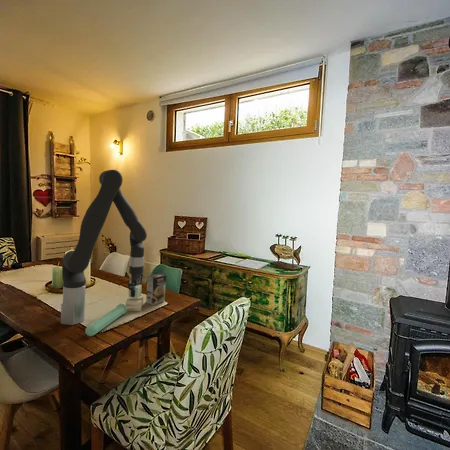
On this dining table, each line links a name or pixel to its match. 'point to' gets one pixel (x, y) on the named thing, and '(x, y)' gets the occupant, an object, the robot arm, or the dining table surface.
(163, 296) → the coffee box
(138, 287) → the sage block
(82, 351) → the dining table surface
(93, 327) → the container
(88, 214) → the robot arm
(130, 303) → the birch base
